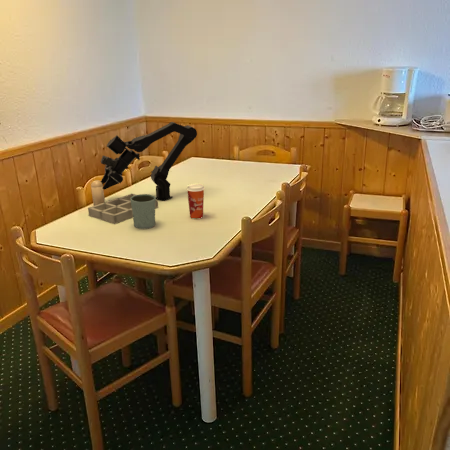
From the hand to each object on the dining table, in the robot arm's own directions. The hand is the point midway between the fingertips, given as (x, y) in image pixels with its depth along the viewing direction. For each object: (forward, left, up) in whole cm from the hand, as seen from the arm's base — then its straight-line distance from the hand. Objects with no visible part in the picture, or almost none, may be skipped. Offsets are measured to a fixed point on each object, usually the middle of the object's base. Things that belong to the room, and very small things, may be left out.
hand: (102, 186), depth 202 cm
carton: (-14, 0, -9) cm, 17 cm away
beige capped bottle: (+1, +2, -9) cm, 10 cm away
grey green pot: (-34, +6, -10) cm, 36 cm away
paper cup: (-45, -14, -10) cm, 48 cm away
